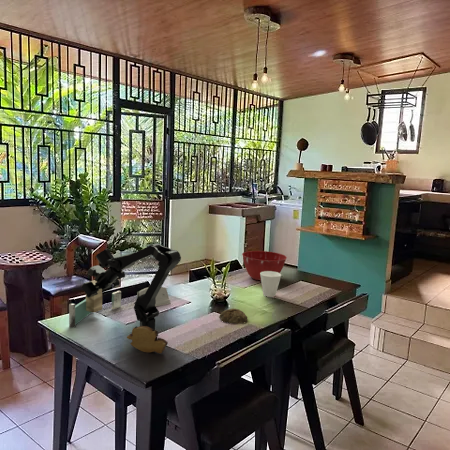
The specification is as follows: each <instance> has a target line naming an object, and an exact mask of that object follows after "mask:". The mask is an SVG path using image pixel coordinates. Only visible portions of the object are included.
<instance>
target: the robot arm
mask: <svg viewBox="0 0 450 450" xmlns="http://www.w3.org/2000/svg"><path fill="white" fill-rule="evenodd" d="M151 256H153V258H154V259H155V261H158V264H157V265H158V268H157V271H156V272H155V274H154V277H153V278H152V280H151V282H150V284H149V285H148V287H147V288H148V289H147V291H146V293H145V294H142V295H140V296H138V297H137V296H136V299H135V302H133V304H134V305H133V309H134V313H135V316H136V317H135V318H136V320H137V321H139V326H147V327H150V328H152V329H153V330H157V333H159V330H158V329H156V317H158V316H159V315H160V311H159V309H158V308H157V306H155V304H156V299H155V298H156V296H157V294H158V292H159V290H160V289H161V287H163V285H164V284H165V281H166V280H167V278H168V276H169V274H170V272H171V271H172V270H173V269H175V268H176V267H177V266H178V264H179V263H180V262H181V260H182V256H181V253H180V252H179V250H176V249H173V248H169V247H167V246H164V245H161V244H159V243H153V244H150V245H148V246H147V247H144V248H142V249H140V250H137V251H135V252H133V253H130V254H125V255H121V256H117V257H114V255H113V254H112V252H111V251H110V249H109V248H104V250H102V251H100V252H99V253H97V254H96V255H95V258H96V259H97V261H98V263H99V264H100V265H101V266H100V265H93V266H91V267H90V268H89V269H88V271H87V273H88V275H89V276H90V277H94V280H95V281H97V282H96V283H95V284H96V285H94V284H93V283H92V282H91V281H92V280H89V281H85V282H84V283H82V285H81V288H82V290H83V292H84V293H85V296H86V295H87V298H89V297H92V296H94V295H97V294H98V293H97V292H98V291H99V289H102V294H103V293H105V292H108V291H110V290H111V291H112V289H116V288H118V287H119V286H120V285H121V284H120V281H119V279H122V278H126V273H125V271H124V270H126V269H129V268H131V267H132V266H134V265H135V264H136V263H137V262H139V261H141V260H143V259H147V258H148V257H151ZM104 268H106V269H104Z"/></svg>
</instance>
